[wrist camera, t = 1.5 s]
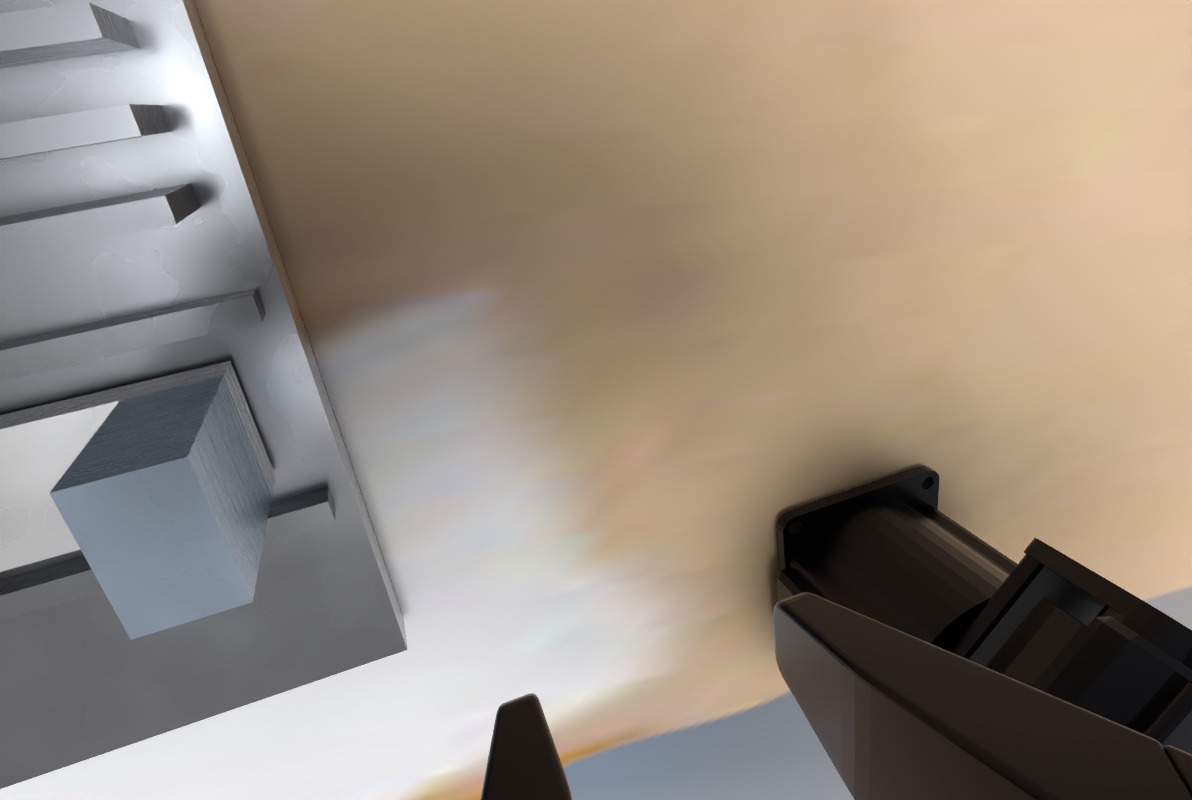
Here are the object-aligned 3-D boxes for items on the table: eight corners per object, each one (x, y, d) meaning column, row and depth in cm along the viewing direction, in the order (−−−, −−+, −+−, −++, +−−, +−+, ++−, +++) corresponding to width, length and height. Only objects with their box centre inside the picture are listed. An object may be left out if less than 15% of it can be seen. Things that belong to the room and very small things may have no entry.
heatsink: (167, -77, 14) (98, -151, 10) (403, 616, 22) (417, 732, 18) (-631, 5, 12) (-1154, -52, 8) (-47, 765, 19) (-151, 942, 15)
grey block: (230, 360, 16) (187, 457, 12) (275, 475, 17) (252, 601, 13) (-139, 448, 14) (-352, 598, 10) (-59, 568, 16) (-217, 748, 11)
